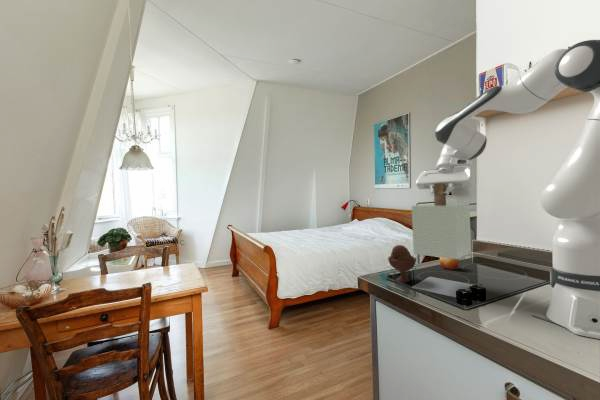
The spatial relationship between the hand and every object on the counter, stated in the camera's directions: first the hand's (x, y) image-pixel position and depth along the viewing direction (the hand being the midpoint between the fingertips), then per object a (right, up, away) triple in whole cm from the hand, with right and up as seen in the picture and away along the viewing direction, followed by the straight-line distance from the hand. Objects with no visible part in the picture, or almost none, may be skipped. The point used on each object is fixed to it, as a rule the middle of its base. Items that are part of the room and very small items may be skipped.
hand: (439, 194), depth 104 cm
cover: (+2, -22, +1) cm, 22 cm away
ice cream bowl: (-9, -36, +11) cm, 39 cm away
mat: (+2, -35, +1) cm, 35 cm away
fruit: (+17, -34, +25) cm, 46 cm away
